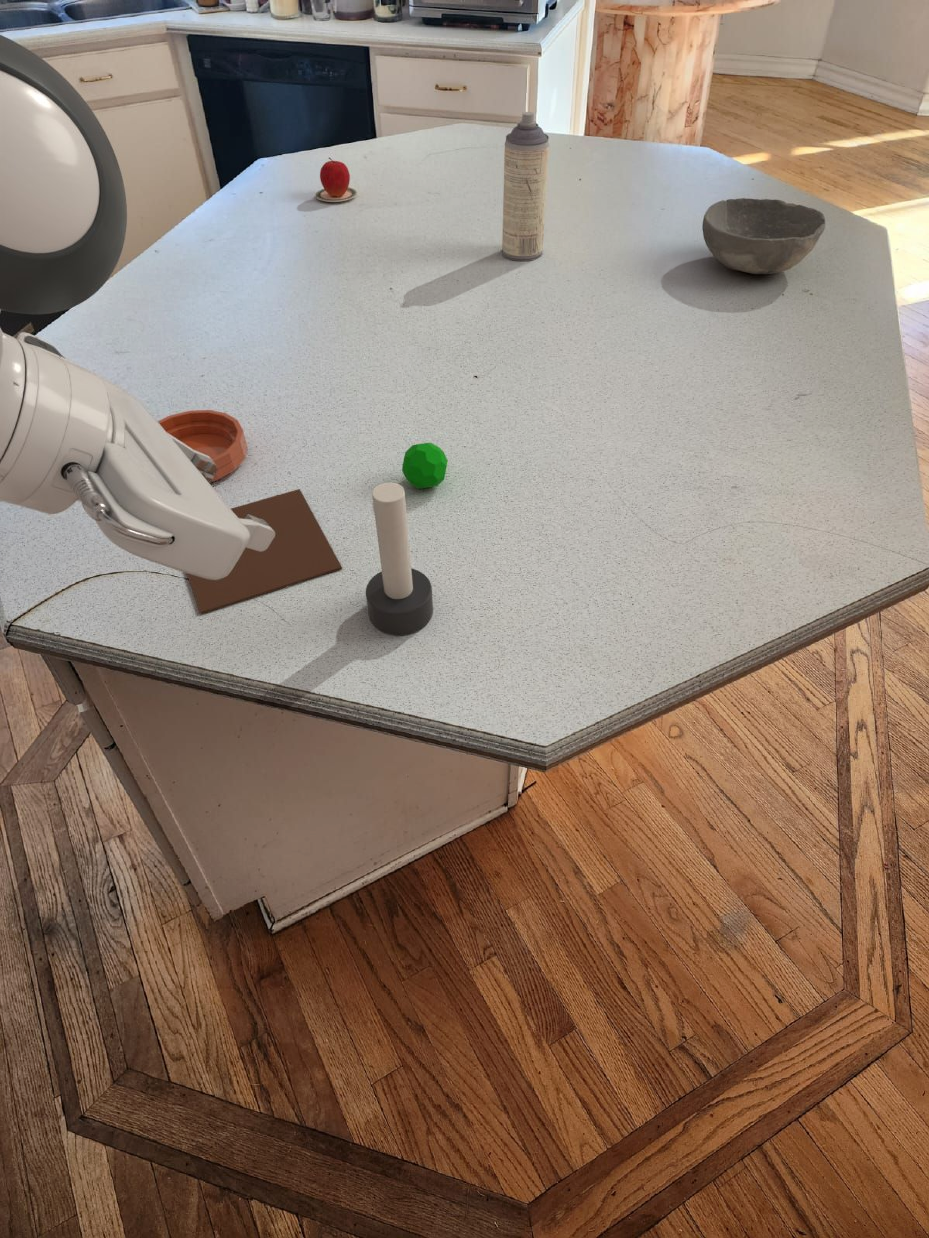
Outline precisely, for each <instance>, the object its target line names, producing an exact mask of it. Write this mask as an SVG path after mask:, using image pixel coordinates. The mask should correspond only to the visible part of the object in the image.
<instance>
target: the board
mask: <svg viewBox="0 0 929 1238" xmlns="http://www.w3.org/2000/svg"><path fill="white" fill-rule="evenodd" d="M230 509H231V510H232V511H233V512H234V514H236V516H237V517H238V518H241V519H245V518H246V516H247V514H249V515H252V516H255V517H257V518H259V519H263V520H265V521H266V522H267V524H268V525H269V526H270V527H271V528H272V529H273V530H274V531H275V537H274V539H273V540H272V542H271V544H270V545H269V547H268V549H266V550H265V551H261V552H260V551H256V550H253V549H249V548H245V549H244V551H243V553H242V555H241V556H240V558H239V560H238V561H237V563H236V564H235V566H234V568H233V569H232V571H231V572H230V573H229V574H228V575H227V576H226V577H224V578H221V579H218V580H210V579H205V578H202V577H198V576H195V575H192V574H188V573H186V575H187V578H188V581H189V584H190V587H191V589H192V592H193V593H192V594H193V595H194V599H195V602H196V605H197V608H198V611H199V614H200V615H204V614H208V613H210V612H214V611H217V610H219V609H223V608H226V607H229V606H232V605H235V604H238V603H241V602H244V601H248V600H250V599H253V598H257V597H260V596H263V595H265V594H266V595H267V594H269V593H272V592H276V591H278V590H281V589H285V588H287V587H290V586H294V585H296V584H300V583H303V582H306V581H309V580H312V579H315V578H318V577H322V576H325V575H327V574H328V575H329V574H331V573H334V572H337V571H340V570H343V567H342V565H341V563H340V561H339V559H338V557H337V555H336V553H335V552H334V550H333V547H332V546H331V544H330V543H329V541H328V538H327V537H326V535H325V533H324V531H323V530H322V528H321V525H320V524H319V522H318V519H316V517H315V515H314V513H313V511H312V509H311V507H310V505H309V503H308V501H307V500H306V497H305V496H304V494H303V491H301V489H300V488H298V489H294V490H290V491H288V492H283V493H281V494H277V495H273V496H270V497H267V498H263V499H259V500H256V501H252V502H249V503H246V504H245V503H244V504H241V505H238V506H235V507H231V508H230Z"/></svg>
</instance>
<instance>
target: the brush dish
mask: <svg viewBox="0 0 929 1238" xmlns="http://www.w3.org/2000/svg"><path fill="white" fill-rule="evenodd" d="M157 421H158V423H159V424H160V425H161V426H162V427H163V429H164V430H165V431H166V432H167V433H169V434H170V435H172V436H173V437H175V438H176V439H178V440H179V441H181V442H182V443H184V444H186V445H187V446H189V447H190V448H192V449H193V450H195V451H198V452H200V453H203V454H205V455H208V456H209V457H210V458H211V459H212V460H213V462H214V463H215V464H216V465H217V467H218V471H217V473H216V474H215V475H214V478H213V480H212V482H211V483H213V482H215V481H219V480H220V479H222V478H224V477H225V476H227V475H229V474H230V473H232V472H234V471H235V470H236V469H237V468H238V467H239V466H240V465H241V463H243V462H244V461H245V459H246V455H247V451H248V444H247V440H246V437H245V432H244V429H243V428H242V425H241V424H240V422H239V419H237V418H235V417H233V416H231V415H230V414H228V413H226V412H223V411H222V412H221V411H216V410H212V409H198V410H197V409H196V410H186V411H182V412H178V413H174V414H170V415H168V416H166V417H164V418H161V419H159V420H157Z"/></svg>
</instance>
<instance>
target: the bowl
mask: <svg viewBox="0 0 929 1238" xmlns="http://www.w3.org/2000/svg"><path fill="white" fill-rule="evenodd" d="M701 228H702V230H701V231H702V236H703V240H704V243H705V245H706V248H707V249H708V250H709V252H710V253H711V254H712V255H713V257H714V258H715V259H716V260H717V261H718V262H719V263H721V264H722V265H723V266H725V267H726V268H727V269H730V270H732V271H739V272H743V273H748V274H753V275H770V274H778V273H782V272H785V271H789V270H790V269H792V268H794V267H795V266H796V265H798V264H799V263H801V262H802V261H803V260H804V259H805V258H806V257H807V256H808V255H809V254H810V253H811V252H812V251H813V250H814V248H815V247H816V246H817V244H818V241H819V239H820V238H821V236H822V234H823V233H824V231H825V229H826V218H825V214H824V213H823V212H821V211H820V210H818V209H816V208H813V207H808V206H805V205H802V204H795V203H791V202H790V203H789V202H786V201H784V200H781V199H769V198H764V199H763V198H762V199H761V198H760V199H759V198H746V197H741V198H728V199H726V200H724V199H722V200H720V201H717V202H715V203H713V204H711V205H710V206H709V207H708V208H707V210H706V211H705V213H704V215H703V219H702V227H701Z"/></svg>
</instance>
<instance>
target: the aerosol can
mask: <svg viewBox="0 0 929 1238" xmlns="http://www.w3.org/2000/svg"><path fill="white" fill-rule="evenodd" d="M521 115H522V116H521V120H520V121H519V123H517V124H516V126H514V127H513V128H512V130H511V132H510V133H507V134H506V135H505V141H504V158H503V159H504V161H503V162H504V163H503V197H502V199H503V200H502V202H503V203H502V239H501V241H502V242H501V255H502V256H503V257H504V258H505V259H508V260H511V261H517V262H528V261H529V262H530V261H535V260H537V259H539V258H541V257H542V255H543V250H544V236H545V235H544V234H545V220H546V219H545V218H546V203H547V186H548V171H549V170H548V169H549V154H550V142H549V139H550V136H549V135H548V134H547V133H544V130H543V128H542V127H540V126H539V124H538V123H537V121H535V113H534V112H532V111H524V112H522V114H521Z"/></svg>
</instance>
